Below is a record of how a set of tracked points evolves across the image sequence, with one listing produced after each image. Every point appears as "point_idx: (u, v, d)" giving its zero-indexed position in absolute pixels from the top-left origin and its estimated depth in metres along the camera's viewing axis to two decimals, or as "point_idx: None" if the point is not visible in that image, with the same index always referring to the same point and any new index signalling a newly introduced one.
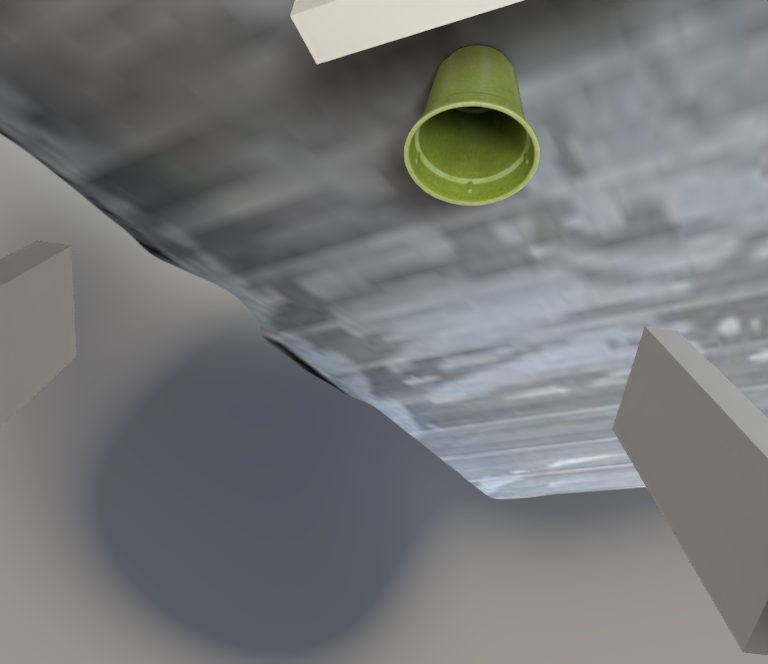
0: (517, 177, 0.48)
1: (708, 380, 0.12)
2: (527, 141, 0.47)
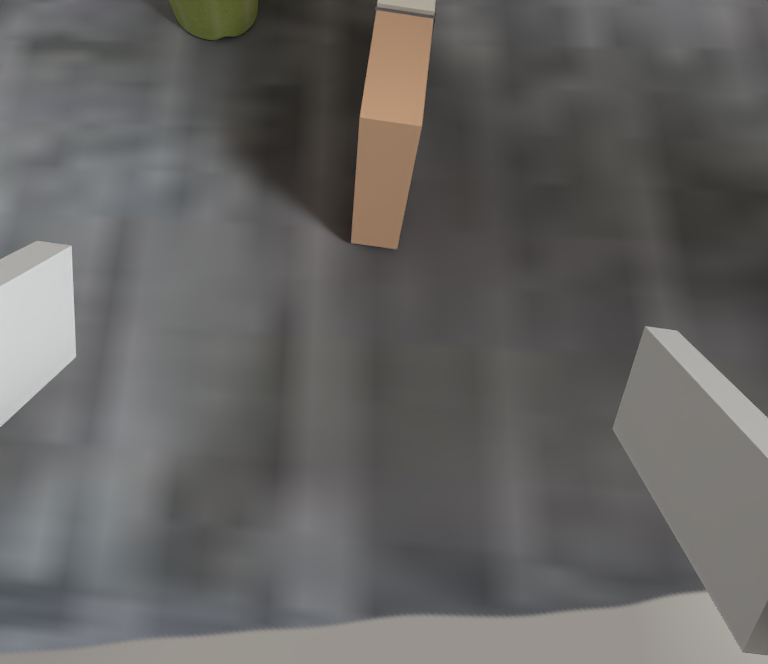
0: None
1: (708, 380, 0.12)
2: None
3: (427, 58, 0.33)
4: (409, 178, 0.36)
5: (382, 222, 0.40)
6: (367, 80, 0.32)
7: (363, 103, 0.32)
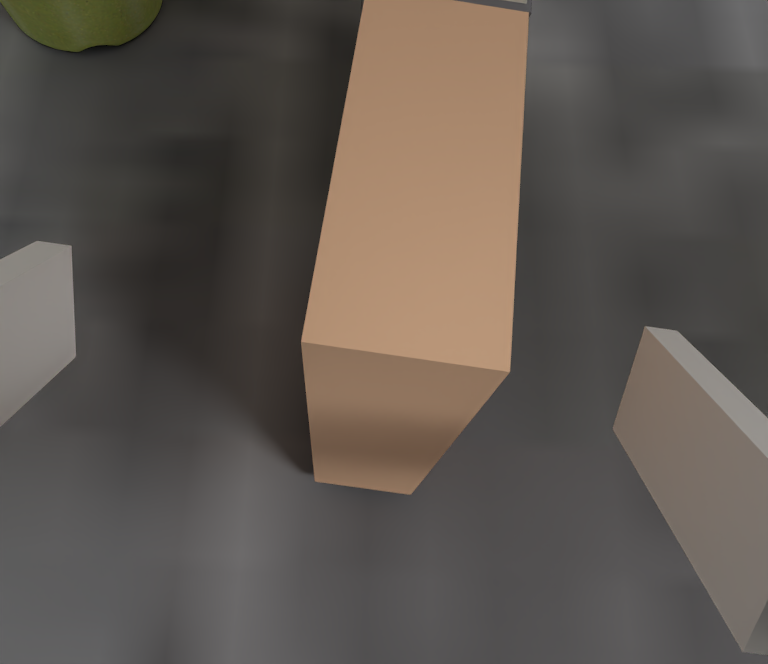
0: None
1: (708, 380, 0.12)
2: None
3: (517, 131, 0.11)
4: (451, 438, 0.13)
5: (380, 472, 0.18)
6: (332, 205, 0.10)
7: (316, 288, 0.10)
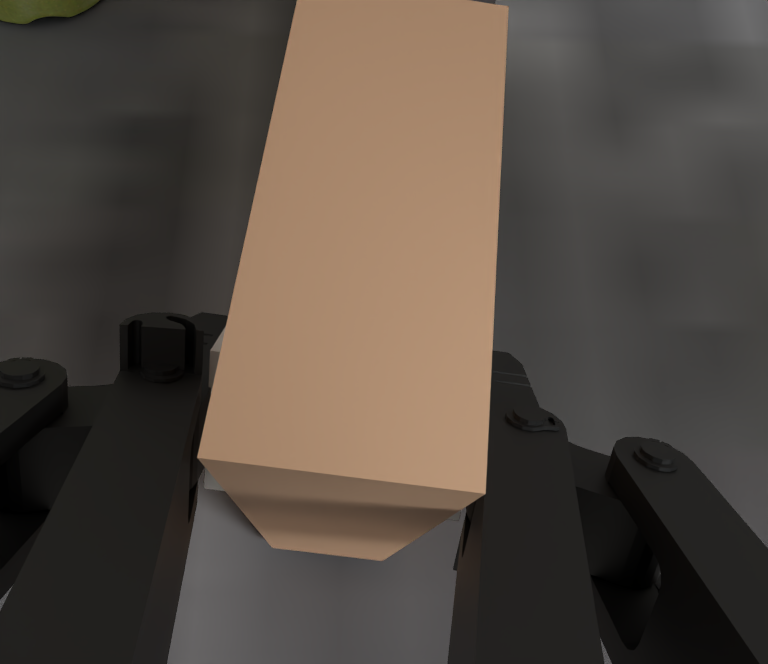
0: None
1: None
2: None
3: (494, 159, 0.09)
4: (418, 532, 0.11)
5: (343, 547, 0.15)
6: (248, 262, 0.08)
7: (221, 378, 0.07)
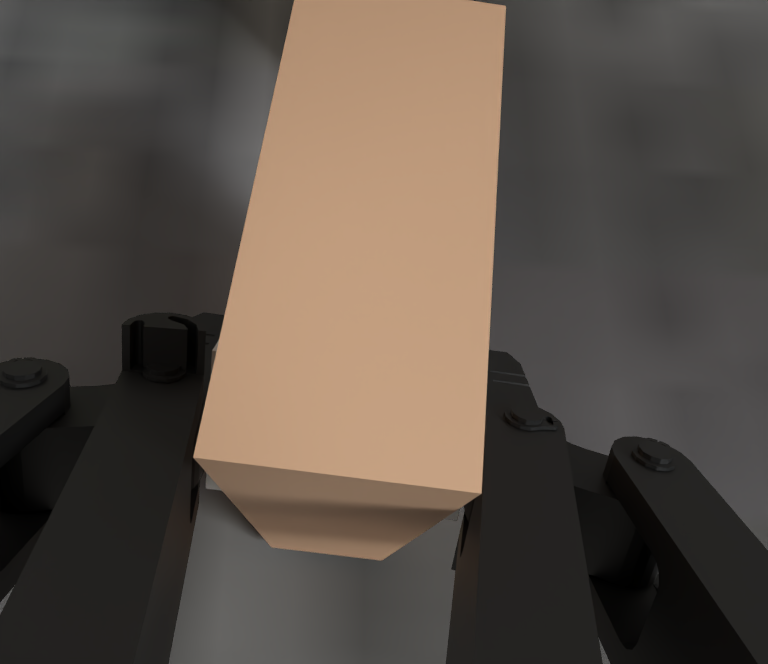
0: None
1: None
2: None
3: (491, 159, 0.09)
4: (416, 532, 0.11)
5: (341, 547, 0.15)
6: (245, 262, 0.08)
7: (218, 378, 0.07)
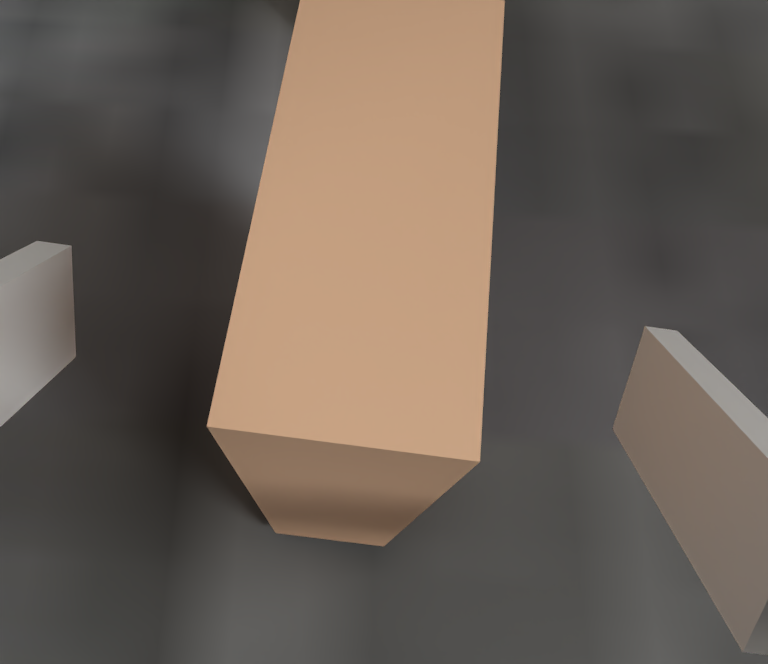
0: None
1: (708, 380, 0.12)
2: None
3: (490, 147, 0.09)
4: (418, 510, 0.11)
5: (344, 530, 0.16)
6: (254, 243, 0.08)
7: (229, 353, 0.07)
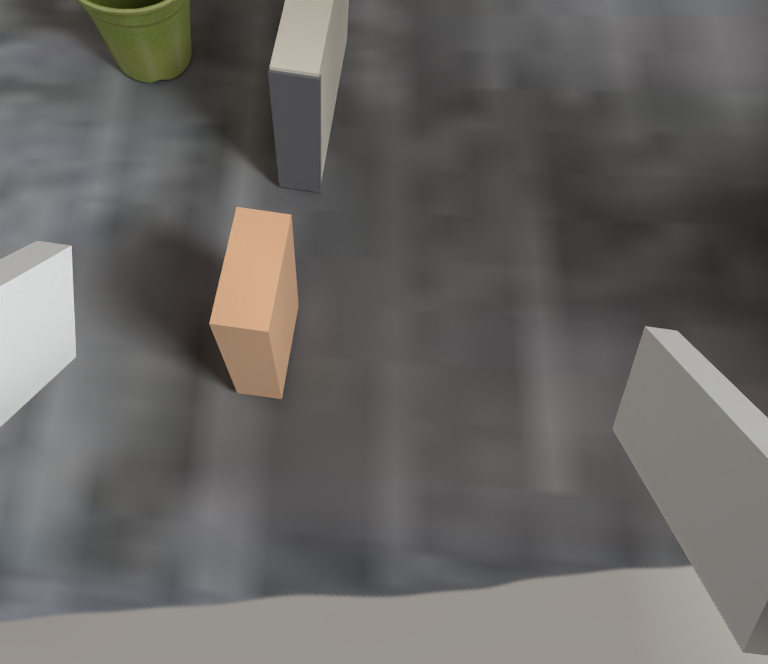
0: None
1: (708, 380, 0.12)
2: (102, 20, 0.48)
3: (281, 258, 0.35)
4: (272, 359, 0.37)
5: (260, 383, 0.42)
6: (220, 283, 0.34)
7: (214, 308, 0.34)
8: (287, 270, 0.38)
